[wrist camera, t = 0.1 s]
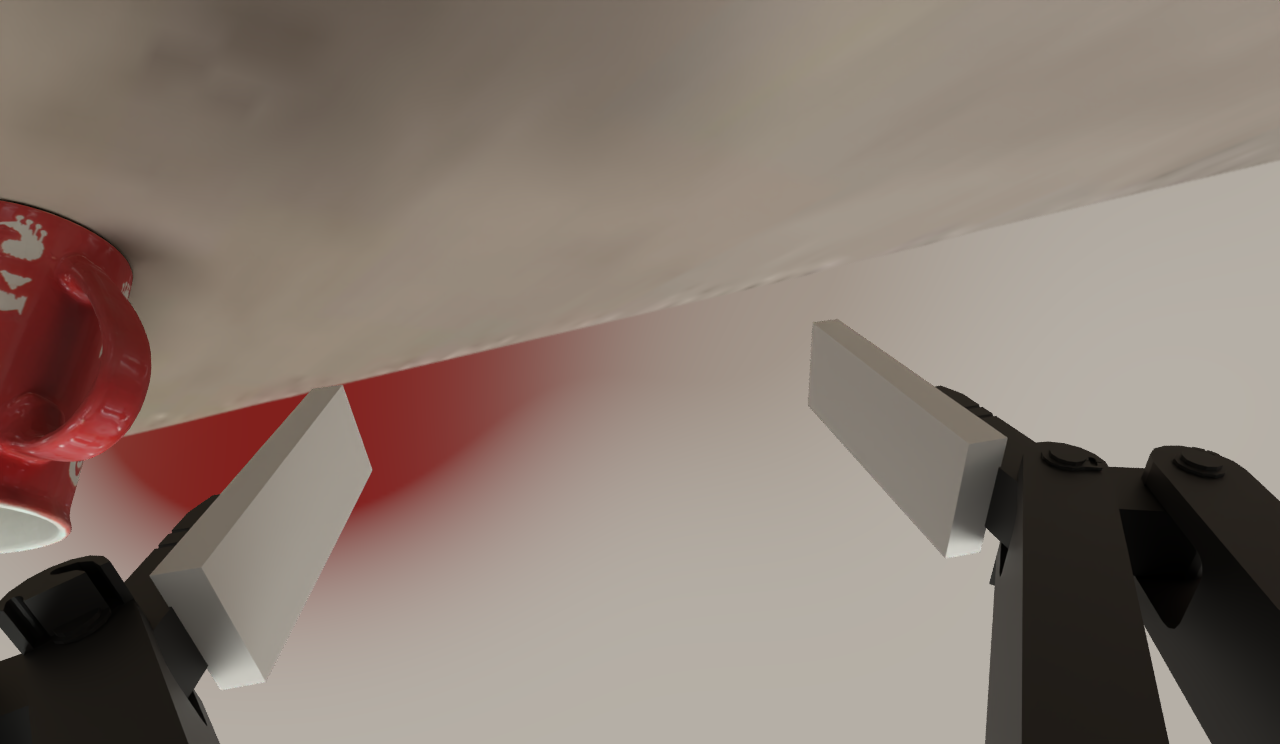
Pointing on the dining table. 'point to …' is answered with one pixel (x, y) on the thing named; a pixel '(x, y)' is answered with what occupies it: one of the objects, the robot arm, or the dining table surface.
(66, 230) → the mug
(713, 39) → the dining table surface
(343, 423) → the robot arm
